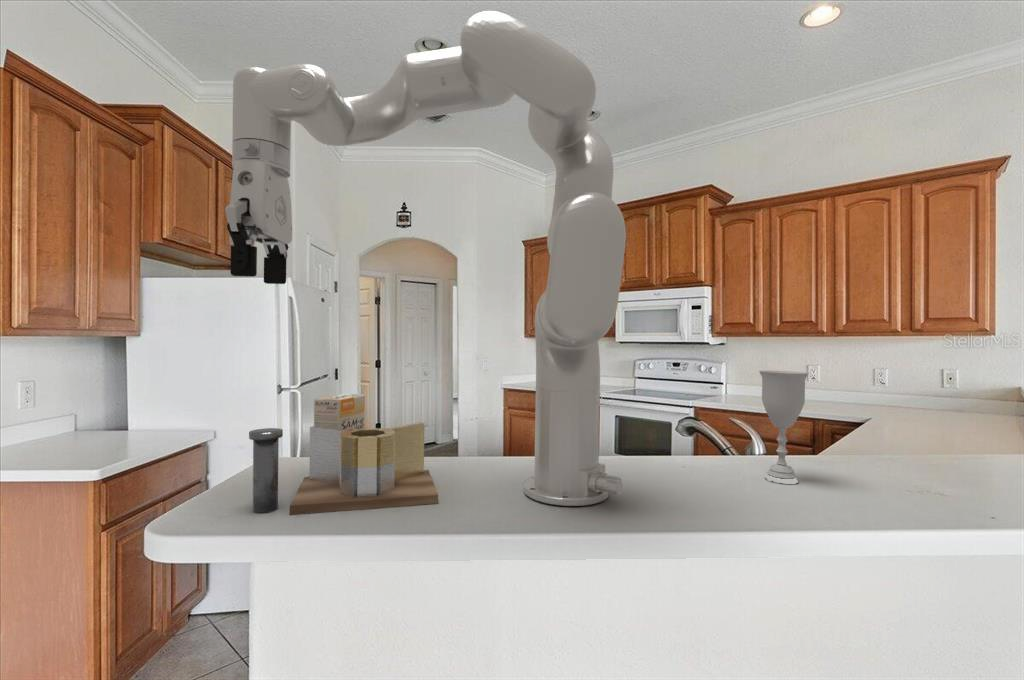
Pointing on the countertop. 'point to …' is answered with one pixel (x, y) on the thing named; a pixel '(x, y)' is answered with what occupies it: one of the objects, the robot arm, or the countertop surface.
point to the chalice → (783, 410)
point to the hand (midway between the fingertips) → (260, 280)
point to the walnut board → (330, 499)
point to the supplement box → (340, 411)
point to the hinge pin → (265, 469)
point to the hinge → (366, 457)
